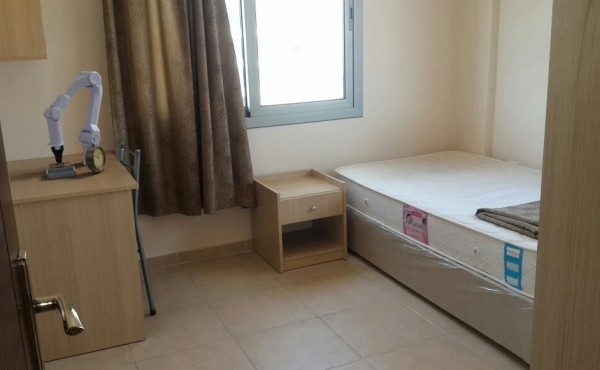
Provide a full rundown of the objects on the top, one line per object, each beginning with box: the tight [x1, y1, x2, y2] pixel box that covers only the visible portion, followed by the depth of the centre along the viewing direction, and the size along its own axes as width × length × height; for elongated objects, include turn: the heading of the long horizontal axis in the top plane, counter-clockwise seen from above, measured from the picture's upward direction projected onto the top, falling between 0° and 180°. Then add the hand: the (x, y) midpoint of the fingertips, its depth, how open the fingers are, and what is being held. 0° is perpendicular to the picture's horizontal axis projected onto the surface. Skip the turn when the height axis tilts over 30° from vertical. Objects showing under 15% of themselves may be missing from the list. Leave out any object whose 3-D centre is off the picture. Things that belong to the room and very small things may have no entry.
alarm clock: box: [85, 137, 107, 175], centre depth 285 cm, size 11×5×16 cm, turn 168°
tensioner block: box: [48, 160, 71, 169], centre depth 293 cm, size 9×9×3 cm
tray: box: [45, 165, 77, 181], centre depth 282 cm, size 11×12×2 cm
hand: (59, 162), depth 292 cm, fingers closed on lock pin, 3 cm apart
